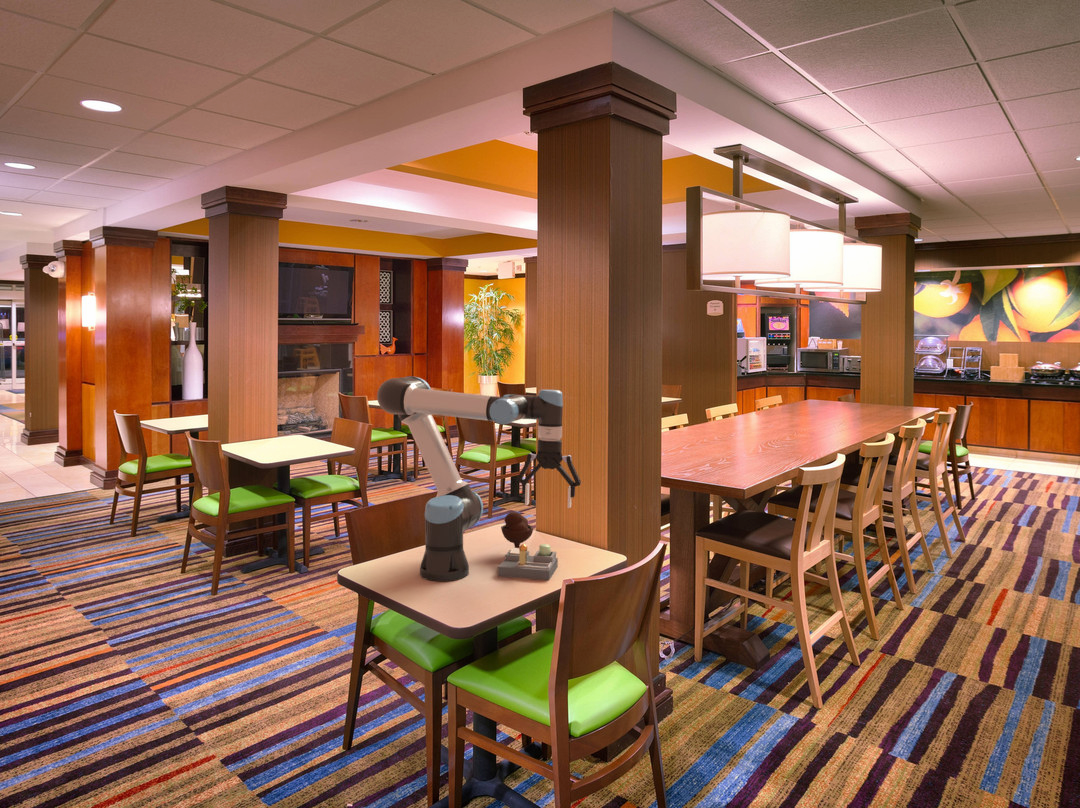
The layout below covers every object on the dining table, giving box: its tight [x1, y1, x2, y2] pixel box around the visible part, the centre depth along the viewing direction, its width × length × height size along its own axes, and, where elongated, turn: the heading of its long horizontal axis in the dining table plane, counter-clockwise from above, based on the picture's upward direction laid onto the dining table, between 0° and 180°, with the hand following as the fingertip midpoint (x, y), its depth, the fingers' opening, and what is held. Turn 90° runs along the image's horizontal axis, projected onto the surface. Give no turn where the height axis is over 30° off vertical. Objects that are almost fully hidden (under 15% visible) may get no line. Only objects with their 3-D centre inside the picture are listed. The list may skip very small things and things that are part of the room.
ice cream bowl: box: [500, 511, 534, 548], centre depth 234 cm, size 11×11×15 cm
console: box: [497, 549, 559, 581], centre depth 217 cm, size 16×13×5 cm
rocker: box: [510, 547, 520, 555], centre depth 221 cm, size 4×3×1 cm
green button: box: [538, 543, 552, 556], centre depth 219 cm, size 4×4×3 cm
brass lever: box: [519, 543, 528, 565], centre depth 214 cm, size 3×3×6 cm
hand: (548, 505), depth 218 cm, fingers open, 13 cm apart
